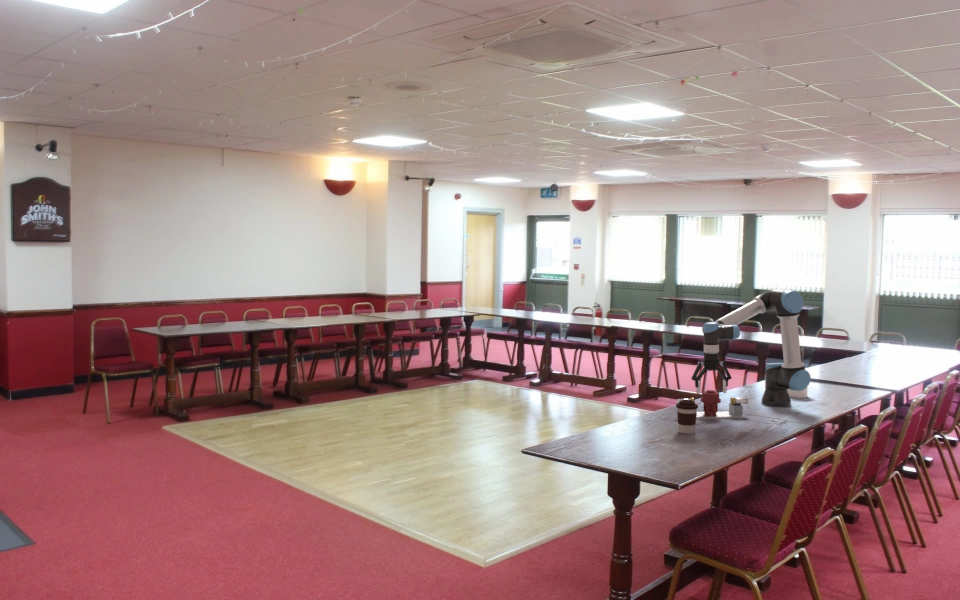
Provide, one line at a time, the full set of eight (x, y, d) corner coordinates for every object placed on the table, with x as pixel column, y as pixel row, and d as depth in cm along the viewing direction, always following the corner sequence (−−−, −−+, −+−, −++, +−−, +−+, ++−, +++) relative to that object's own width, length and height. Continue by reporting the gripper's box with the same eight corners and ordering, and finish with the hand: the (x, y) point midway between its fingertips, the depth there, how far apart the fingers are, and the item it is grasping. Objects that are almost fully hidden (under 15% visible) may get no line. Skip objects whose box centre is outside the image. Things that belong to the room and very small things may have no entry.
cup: (781, 395, 441) (782, 375, 440) (791, 393, 449) (791, 373, 448) (801, 398, 432) (802, 378, 432) (810, 395, 440) (811, 375, 439)
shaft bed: (742, 413, 396) (742, 394, 395) (751, 418, 384) (751, 399, 383) (674, 414, 395) (674, 395, 394) (681, 419, 383) (681, 400, 382)
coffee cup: (701, 432, 356) (701, 400, 355) (690, 436, 349) (691, 404, 348) (682, 428, 363) (683, 398, 362) (671, 432, 356) (672, 401, 355)
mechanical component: (719, 412, 393) (721, 416, 384) (699, 411, 395) (701, 416, 386) (719, 389, 392) (722, 392, 383) (699, 388, 394) (701, 392, 385)
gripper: (732, 350, 391) (732, 390, 393) (685, 352, 390) (685, 392, 392) (738, 352, 384) (738, 393, 385) (689, 354, 383) (689, 395, 385)
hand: (711, 393), depth 389 cm, fingers open, 13 cm apart
